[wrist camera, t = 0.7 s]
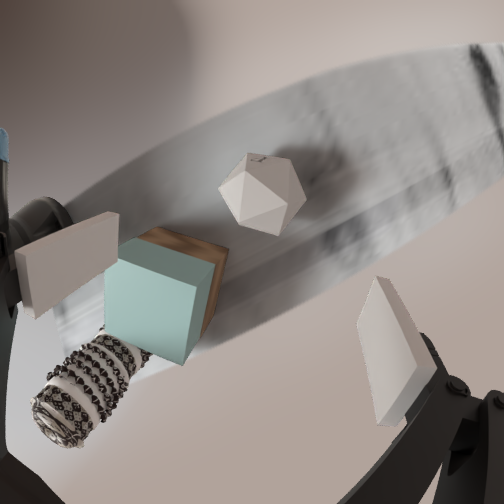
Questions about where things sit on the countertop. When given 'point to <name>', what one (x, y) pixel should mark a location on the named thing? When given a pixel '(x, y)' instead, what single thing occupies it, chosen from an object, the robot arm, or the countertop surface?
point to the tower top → (157, 298)
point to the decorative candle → (86, 388)
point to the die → (263, 193)
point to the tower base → (196, 250)
